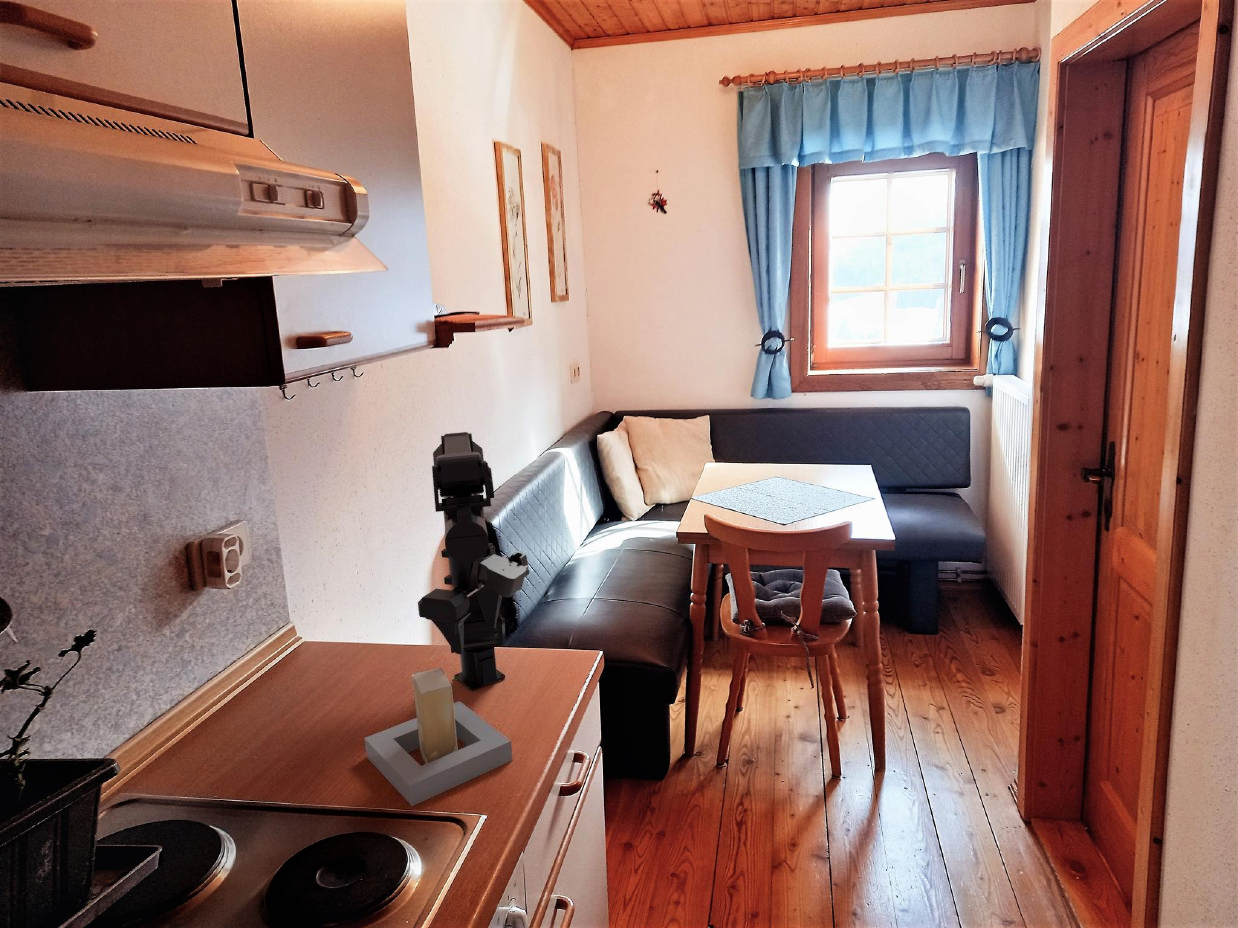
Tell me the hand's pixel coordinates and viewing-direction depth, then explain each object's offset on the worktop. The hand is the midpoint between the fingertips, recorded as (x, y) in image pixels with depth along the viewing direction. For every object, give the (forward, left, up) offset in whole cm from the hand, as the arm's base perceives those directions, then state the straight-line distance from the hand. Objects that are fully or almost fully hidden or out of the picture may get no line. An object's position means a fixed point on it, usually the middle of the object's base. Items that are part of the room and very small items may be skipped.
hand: (476, 640), depth 124 cm
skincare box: (+5, -10, -13) cm, 17 cm away
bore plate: (+5, -10, -13) cm, 17 cm away
